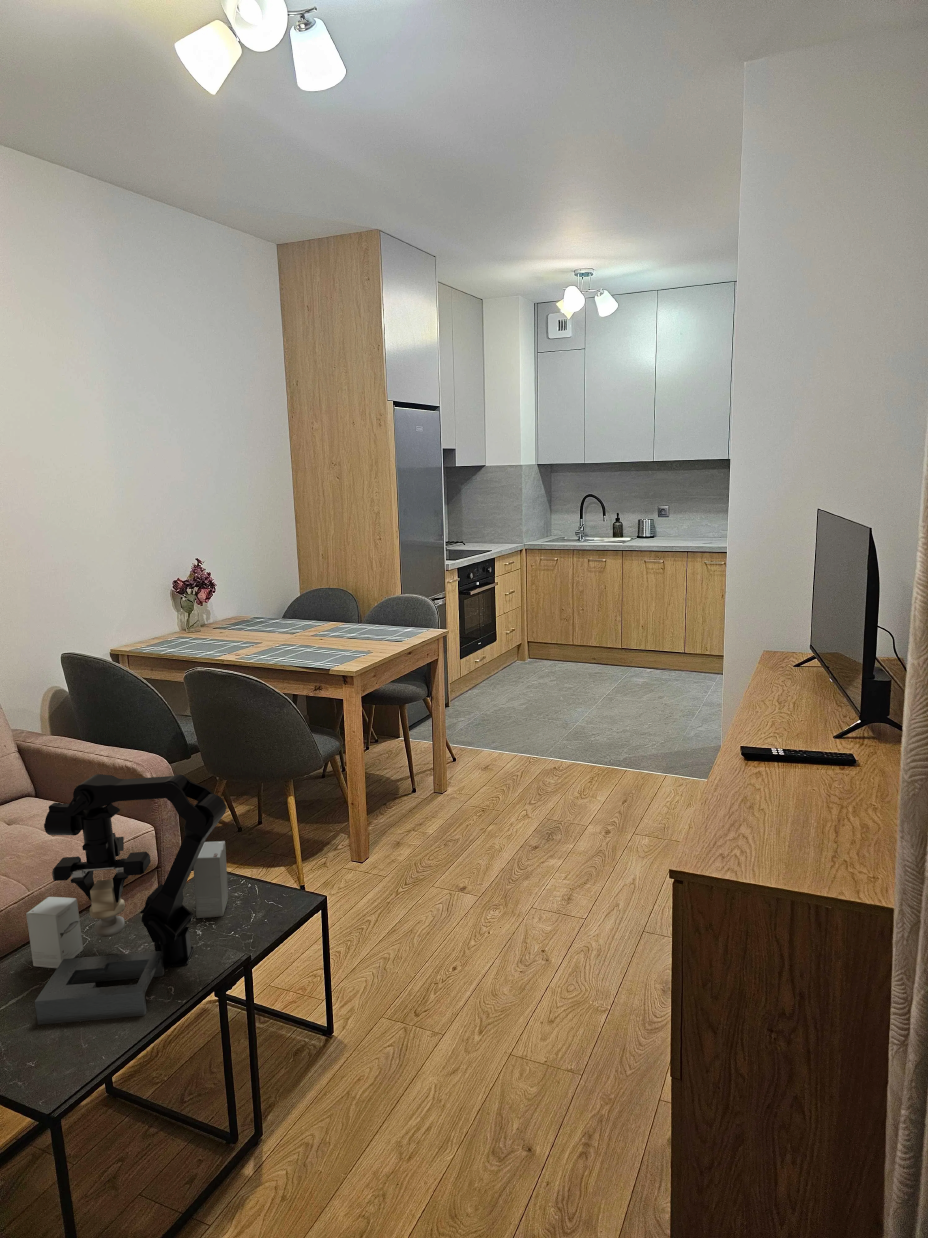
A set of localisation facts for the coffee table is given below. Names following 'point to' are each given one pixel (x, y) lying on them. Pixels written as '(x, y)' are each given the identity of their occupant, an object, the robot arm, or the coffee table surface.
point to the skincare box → (211, 880)
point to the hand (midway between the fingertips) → (106, 902)
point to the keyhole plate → (103, 1002)
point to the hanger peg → (106, 909)
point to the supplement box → (54, 931)
